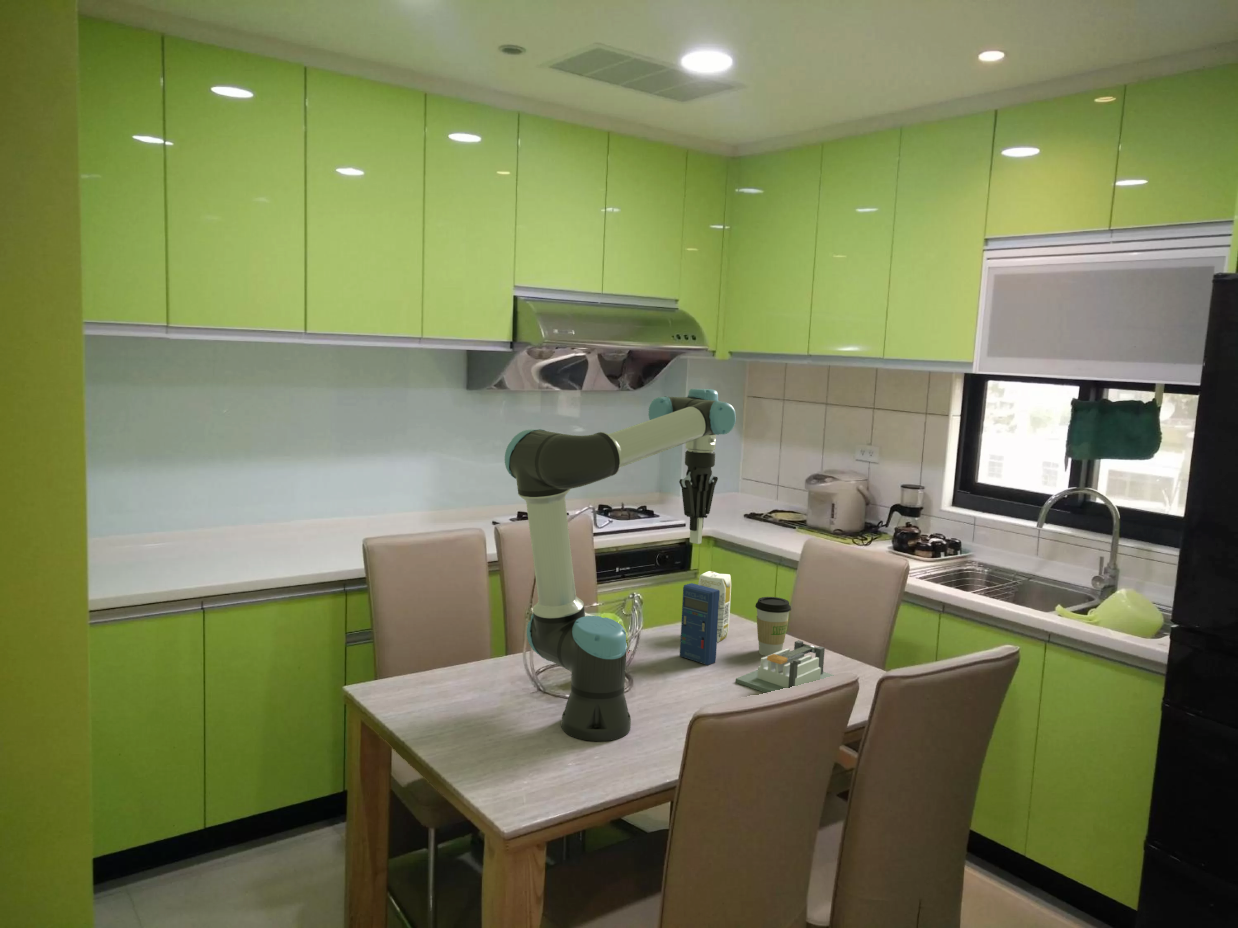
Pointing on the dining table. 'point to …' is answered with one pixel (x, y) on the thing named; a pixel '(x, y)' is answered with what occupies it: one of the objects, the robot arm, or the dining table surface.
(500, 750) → the dining table surface
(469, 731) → the dining table surface
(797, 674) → the heatsink base
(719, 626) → the juice carton
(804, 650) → the lever
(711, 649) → the electronic device
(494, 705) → the dining table surface
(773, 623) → the coffee cup
